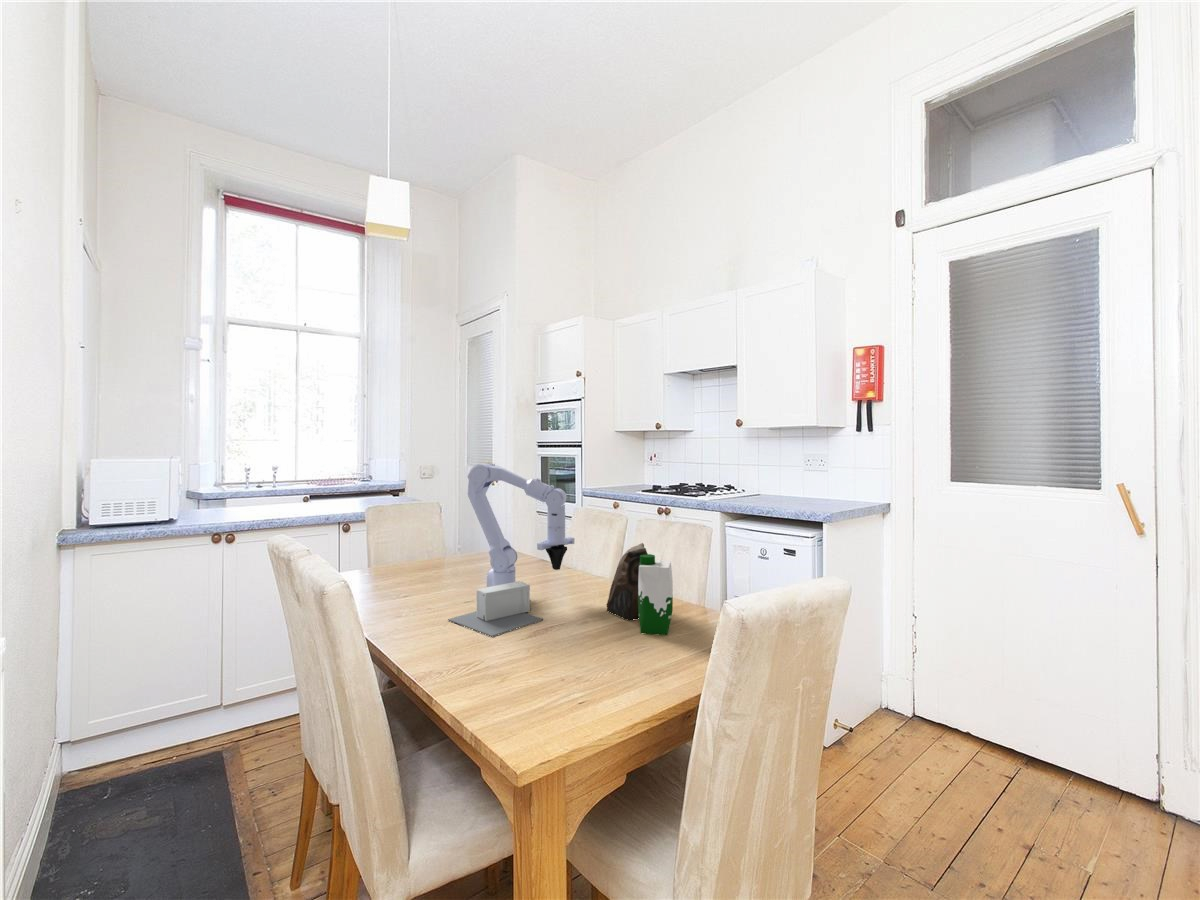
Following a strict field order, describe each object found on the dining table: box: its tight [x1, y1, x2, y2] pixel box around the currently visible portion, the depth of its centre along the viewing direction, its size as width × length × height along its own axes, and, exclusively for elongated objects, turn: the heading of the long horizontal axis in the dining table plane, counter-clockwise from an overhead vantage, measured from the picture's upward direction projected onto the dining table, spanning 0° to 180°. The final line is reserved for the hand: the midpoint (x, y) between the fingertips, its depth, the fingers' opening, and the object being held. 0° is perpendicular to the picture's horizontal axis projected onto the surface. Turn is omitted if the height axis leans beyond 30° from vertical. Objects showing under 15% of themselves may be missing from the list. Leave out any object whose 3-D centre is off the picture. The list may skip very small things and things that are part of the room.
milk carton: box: [638, 553, 674, 636], centre depth 148 cm, size 9×9×20 cm
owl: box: [606, 542, 648, 621], centre depth 161 cm, size 13×13×20 cm
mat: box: [447, 610, 544, 638], centre depth 156 cm, size 20×18×1 cm
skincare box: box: [476, 580, 531, 621], centre depth 161 cm, size 8×6×15 cm
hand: (556, 569), depth 176 cm, fingers closed
